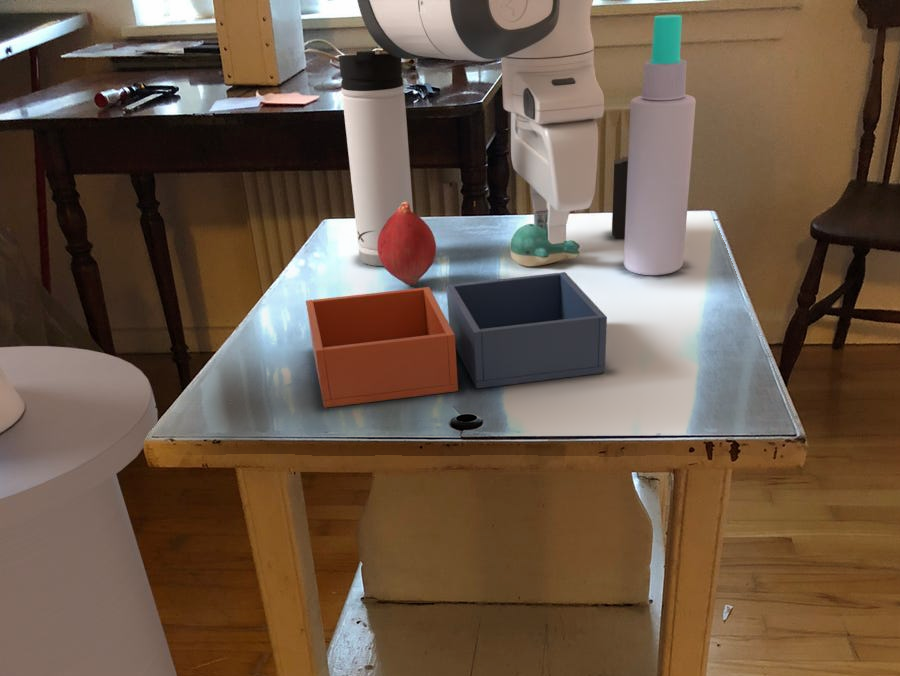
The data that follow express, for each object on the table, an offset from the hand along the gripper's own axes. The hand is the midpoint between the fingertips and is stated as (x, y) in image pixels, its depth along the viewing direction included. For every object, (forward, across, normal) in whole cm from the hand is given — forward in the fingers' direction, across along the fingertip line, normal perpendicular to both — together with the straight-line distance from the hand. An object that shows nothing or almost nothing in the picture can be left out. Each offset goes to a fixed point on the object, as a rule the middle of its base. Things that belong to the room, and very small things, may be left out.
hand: (549, 235), depth 103 cm
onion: (+2, +3, -16) cm, 16 cm away
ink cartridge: (+3, -6, +11) cm, 13 cm away
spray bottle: (+3, +6, +9) cm, 12 cm away
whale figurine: (+3, 0, -1) cm, 3 cm away
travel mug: (+3, -7, -17) cm, 18 cm away
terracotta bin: (+2, +25, -21) cm, 33 cm away
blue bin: (+2, +25, -9) cm, 27 cm away
